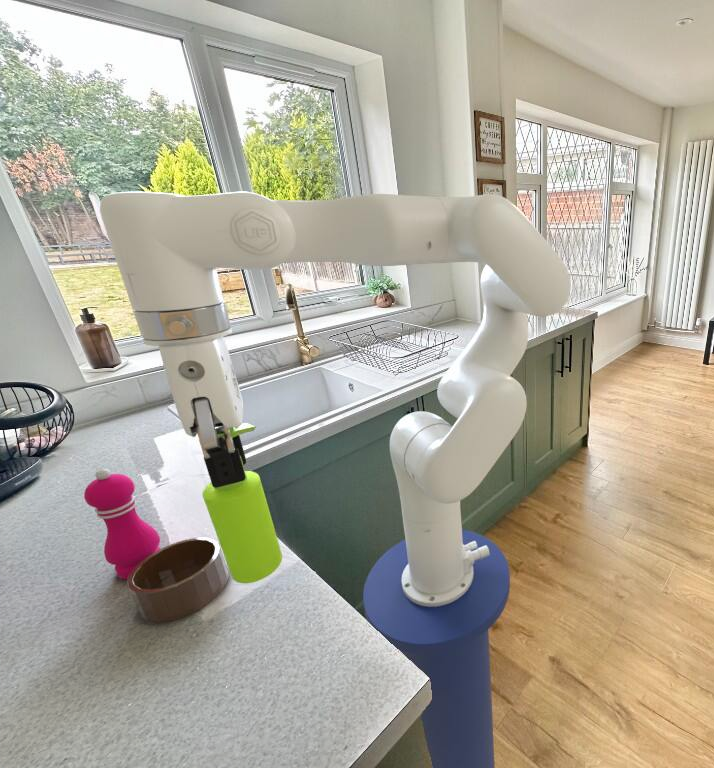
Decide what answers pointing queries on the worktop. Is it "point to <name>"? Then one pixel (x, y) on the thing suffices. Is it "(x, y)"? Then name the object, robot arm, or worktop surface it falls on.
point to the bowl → (178, 579)
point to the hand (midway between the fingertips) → (230, 473)
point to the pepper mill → (121, 522)
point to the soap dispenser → (244, 524)
